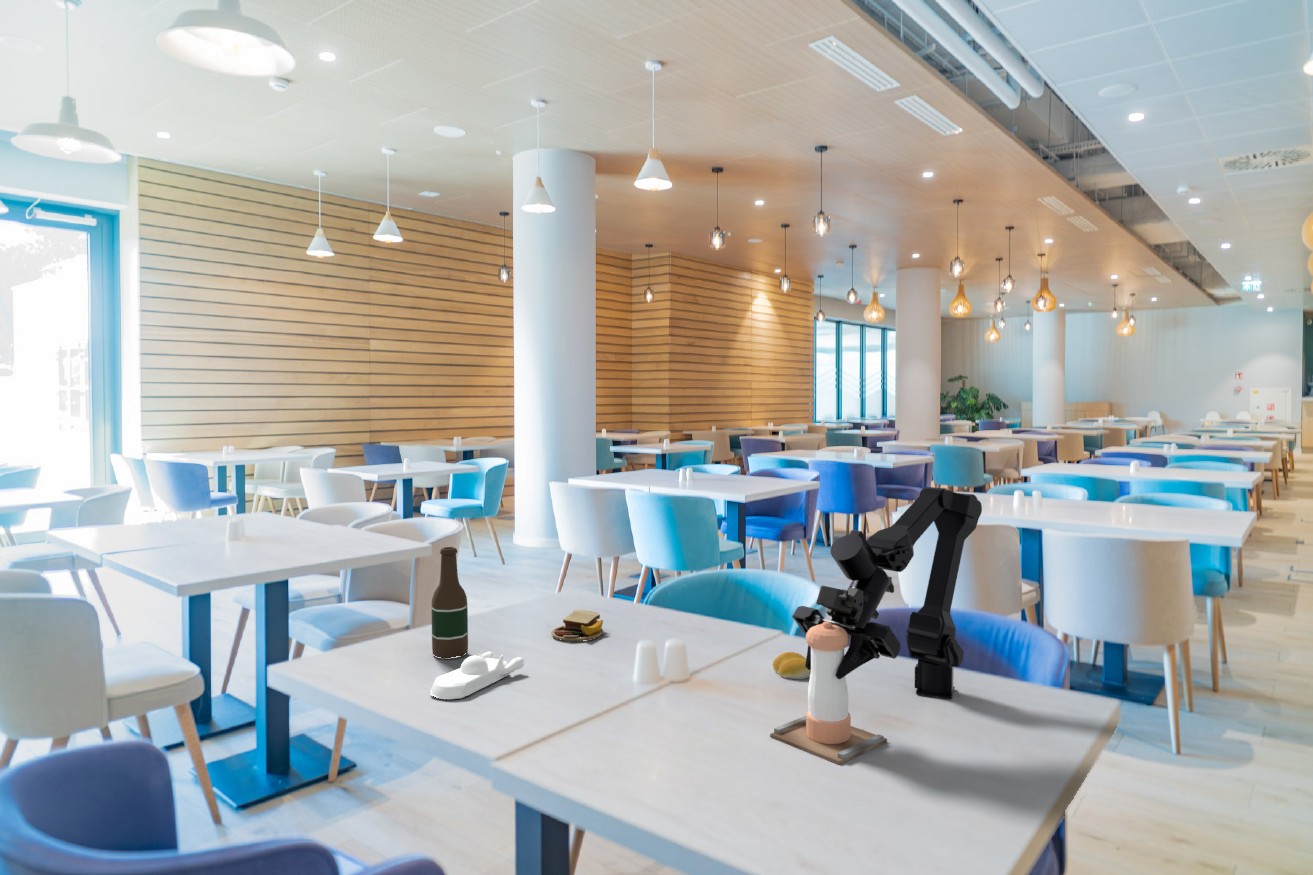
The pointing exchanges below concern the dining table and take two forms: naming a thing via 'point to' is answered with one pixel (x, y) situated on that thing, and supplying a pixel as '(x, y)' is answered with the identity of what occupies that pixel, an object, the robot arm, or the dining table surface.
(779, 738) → the serving tray
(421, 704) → the dining table surface
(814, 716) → the pepper shaker
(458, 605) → the beer bottle
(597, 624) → the toy sandwich meal
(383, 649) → the dining table surface
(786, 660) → the bread roll
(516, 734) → the dining table surface
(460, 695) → the white elongated plastic piece
